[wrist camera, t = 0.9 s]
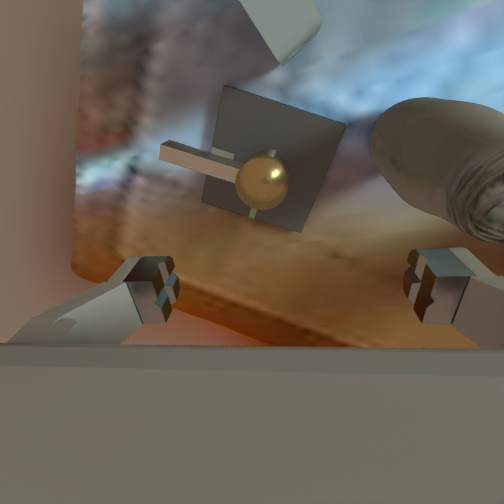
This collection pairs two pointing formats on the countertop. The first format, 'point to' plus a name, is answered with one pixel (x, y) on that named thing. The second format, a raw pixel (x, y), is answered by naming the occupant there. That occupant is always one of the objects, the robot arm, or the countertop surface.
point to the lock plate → (288, 148)
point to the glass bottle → (445, 161)
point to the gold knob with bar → (237, 172)
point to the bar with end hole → (284, 24)
